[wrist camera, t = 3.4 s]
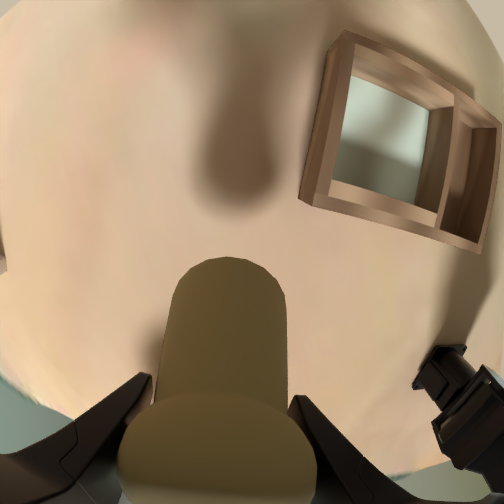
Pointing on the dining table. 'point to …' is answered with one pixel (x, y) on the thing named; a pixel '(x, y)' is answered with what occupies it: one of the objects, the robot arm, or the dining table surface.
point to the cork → (220, 399)
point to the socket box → (401, 146)
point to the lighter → (2, 264)
